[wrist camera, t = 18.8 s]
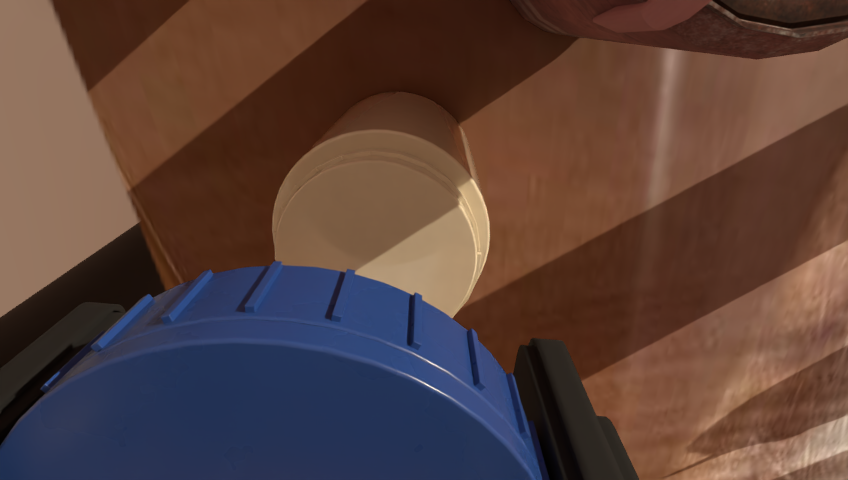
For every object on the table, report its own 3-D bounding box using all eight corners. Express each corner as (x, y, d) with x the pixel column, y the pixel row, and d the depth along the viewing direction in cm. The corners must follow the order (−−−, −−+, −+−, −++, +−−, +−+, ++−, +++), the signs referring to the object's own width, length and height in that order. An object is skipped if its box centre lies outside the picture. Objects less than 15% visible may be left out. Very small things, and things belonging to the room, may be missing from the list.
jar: (323, 228, 24) (260, 348, 15) (325, 84, 21) (249, 128, 12) (462, 241, 24) (478, 367, 15) (481, 99, 21) (514, 154, 12)
